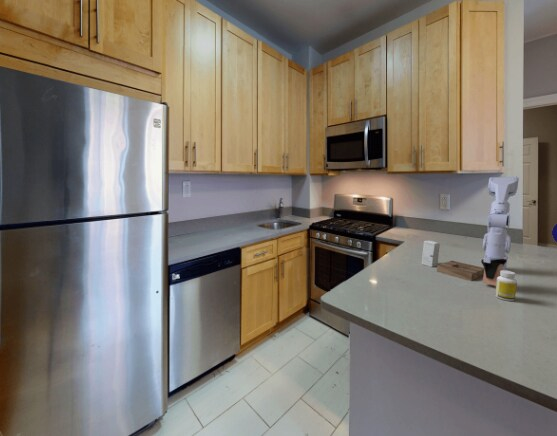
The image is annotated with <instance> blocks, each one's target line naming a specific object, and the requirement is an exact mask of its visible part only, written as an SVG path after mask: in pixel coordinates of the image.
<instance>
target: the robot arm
mask: <svg viewBox="0 0 557 436" xmlns="http://www.w3.org/2000/svg"><path fill="white" fill-rule="evenodd" d="M519 179H520V178H519V177H518V176H501V177H500V176H499V177H497V176H496V177H495V176H494V177H493V176H491V177H489V179H488V185H487V188H488V189H487V190H488V195H489V196H492V197H493V198H494V201H492V202H491V205H490V212H489V214H488V215H487V225H486V226H487V233H485V234H484V235H483V239H482V240H483V241H482V247H481V248H482V250H483V251H484V252H485V253H484V257H483V259H481V261H480V262H481V264H482V266H483V268H484V269H485V274H486V278H489V279H493V278H494V276H495V273H496V270H497V268H498V266H499V265H500V264H503V268H502V270H506V271H510V270H509V269H507V266H508V259H509V257H508V256H507V254H510V252H511V247H512V246H511V244H512V238H511V236H510V235H509V234H508V229H509V227H510V222H511V216H510V206H511V204H510V203H509V201H508V200H509V199H510V197H513V196H515V195H516V194H517V191H518V189H519V188H518V187H519V181H520V180H519Z"/></svg>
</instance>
